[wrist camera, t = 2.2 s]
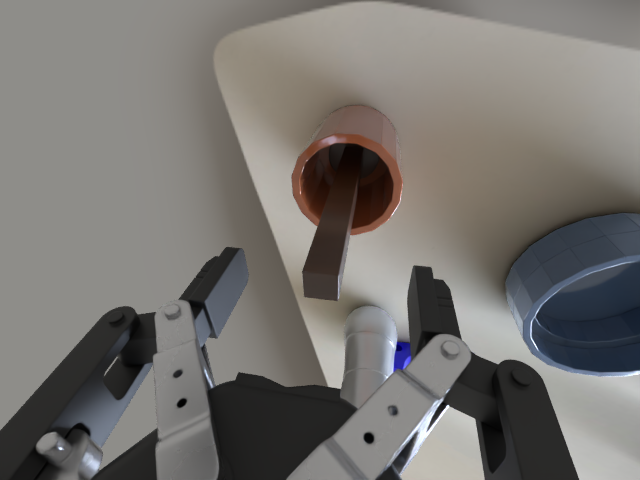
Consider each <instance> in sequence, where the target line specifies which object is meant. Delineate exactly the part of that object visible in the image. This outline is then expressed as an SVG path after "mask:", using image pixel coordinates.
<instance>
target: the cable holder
mask: <svg viewBox="0 0 640 480" xmlns="http://www.w3.org/2000/svg"><path fill="white" fill-rule="evenodd" d="M410 362H411V351H410V343H405V342H397V345H396V350H395V354H394V368H393V372H394V371H395V370H397V369H401V370H403V369H404V368H405V367H406V366H407V365H408V364H409V363H410Z"/></svg>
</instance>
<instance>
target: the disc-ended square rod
mask: <svg viewBox="0 0 640 480" xmlns="http://www.w3.org/2000/svg"><path fill="white" fill-rule="evenodd" d="M379 159H380V157H379V156H378V155H377V154H376V152H374V151H372V150H370V149H367V148H365V147H363V146H361V145H359V144H354V143H335V144H333V145H330V148H329V161H330V164H331V166H332V168H333V169H334V171H335V172H336V174H335V177H334V180H333V183H332V186H331V189H330V192H329V195H328V198H327V201H326V204H325V206H324V209H323V212H322V215H321V218H320V221H319V224H318V227H317V230H316V233H315V236H314V239H313V242H312V245H311V247H310V250H309V253H308V256H307V259H306V262H305V265H304V268H303V271H302V274H303V287H304V297H308V298H317V299H325V300H334V301H338V300H339V295H340V289H341V284H342V278H343V273H344V267H345V261H346V256H347V250H348V244H349V239H350V233H351V228H352V222H353V216H354V211H355V205H356V200H357V194H358V188H359V183H360V179H362V178H365V177H367V176H369V175H370V174H371V173H372V172H373V171H374V170H375V169H376V167H377V165H378V163H379Z"/></svg>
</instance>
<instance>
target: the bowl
mask: <svg viewBox="0 0 640 480" xmlns="http://www.w3.org/2000/svg"><path fill="white" fill-rule="evenodd" d="M505 285H506V300H507V302H508V304H509V307H510V309H511V312H512V314H513V316H514V319H515V321H516V324H517V326H518V328H519V331H520V333H521V335H522V338H523V340H524V342H525V343H526V345H527V347H528V348H529V350H530V352H531V353H532V354H533V355H535V356H536V357H537V358H539V359H540V360H542V361H543V362H545V363H546V364H547V365H550V366H553V367H556V368H559V369H562V370H565V371H567V372H571V373H578V374H585V375H592V376H629V375H636V374H640V214H636V213H617V214H611V215H605V216H599V217H592V218H586V219H584V220H581V221H578V222H576V223H573V224H570V225H567V226H565V227H562V228H559V229H557V230H555V231H553V232H552V233H550V234H548V235H547V236H545V237H544V238H542V239H540V240H539V241H537V242H536V243H534V244H532V245H531V246H530V247H529V248H528V249H527V250H526V251H525V252H524V253H523V254H522V255H521V256H520V257H519V258H518V259H517V260H516V261H515V262H514V264H513V266H512V268H511V270H510V272H509V275H508V277H507V279H506V282H505Z"/></svg>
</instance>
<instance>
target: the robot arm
mask: <svg viewBox="0 0 640 480" xmlns="http://www.w3.org/2000/svg"><path fill="white" fill-rule="evenodd" d="M247 281H248V269H247V264H246V259H245V254H244V251H243V249H242V248H232V247H226V248H225V249H224V250H223V252H222V253H221V255H220V256H219V257H218V256H215V257H214V258H212V259H211V260H209V261H208V262H206V264H205V265H204V266H203V268H202V269H201V271H200V272H199V273H198V274H197V276H196V278H194V280H193V281H192V282H191V283H190V285H189V286H188V287H187V289H186V290H185V291H184V293H183V294H182V295H181V297H180V298H179V299H178V300H174V301H170V302H168V303H166V304H164V305H163V306H161V307H160V308H159V309H158V311H157V312H153V313H146V314H139V315H137V313H136V312H135V310H134V309H133V308H131V307H128V306H123V307H118V308H115V309H113V310H111V311H109V312H107V313H106V314H105V315H103V316H102V317H101V318H100V320H99V321H98V322H97V323H96V324H95V325H94V326H93V327H92V329H91V330H90V331H89V332H88V333H87V334H86V335H85V337H84V338H83V339H82V340H81V341H80V342H79V343H78V344H77V345H76V347H75V348H74V349H73V350H72V351H71V352H70V353H69V354H68V356H67V357H66V358H65V359H64V360H63V361H62V362H61V363H60V364H59V366H58V367H57V368H56V369H55V370H54V371H53V373H51V375H50V376H49V377H48V378H47V379H46V380H45V381H44V382H43V383H42V385H41V386H40V387H39V388H38V389H37V390H36V391H35V392H34V394H33V395H32V396H31V397H30V398H29V399H28V400H27V401H26V403H25V404H24V405H23V406H22V407H21V408H20V409H19V410H18V412H17V413H16V414H15V415H14V416H13V417H12V418H11V420H9V422H8V423H7V424H6V425H5V426H4V427H3V428H2V429H1V431H0V480H402V479H401V477H400V476H401V474H402V473H403V472H404V470H405V469H406V467H407V466H408V465H409V463H410V462H411V461H412V459H413V458H414V456H415V455H416V453H417V452H418V450H419V448H420V446H421V445H422V443H423V441H424V440H425V438H426V437H427V435H428V434H429V433H430V431H431V430H432V429H433V427H434V426H435V425H436V423H437V422H438V420H439V419H440V418H441V416H442V415H443V414H444V412H445V411H446V410H447V408H448V407H449V406H450V407H452V408H454V409H456V410H458V411H460V412H463V413H465V414H467V415H469V416H471V417H473V418H475V420H476V426H477V432H478V439H479V445H480V451H481V458H482V464H483V471H484V477H485V480H579V478H578V475H577V472H576V470H575V467H574V464H573V461H572V458H571V456H570V453H569V450H568V447H567V445H566V442H565V439H564V436H563V434H562V431H561V428H560V425H559V422H558V420H557V417H556V414H555V411H554V409H553V406H552V403H551V400H550V398H549V395H548V392H547V389H546V387H545V384H544V381H543V379H542V378H541V376H540V375H539V374H538V373H537V372H536V371H535V370H534V369H533V368H531V367H530V366H528V365H527V364H525V363H523V362H520V361H517V360H504V361H502V362H501V363H500V364H499V365H498V364H496V363H493V362H491V361H488V360H486V359H483V358H481V357H479V356H477V355H475V354H474V353H473V352H471V351H470V349H469V347H468V346H467V345H466V343H465V342H463V341H462V339H461V335H460V331H459V326H458V322H457V318H456V313H455V309H454V304H453V300H452V296H451V291H450V288H449V287H448V286H447V284H446V283H445V282H444V281H443V280H439V279H433V273H432V268H431V267H426V266H415V265H414V266H413V269H412V274H411V279H410V284H409V289H408V298H407V305H408V320H409V336H410V351H411V362H410V363H409V364H408V365H407V366H406V367H405V368H404V369H403V370H401V369H397V370H395V371H394V372H393V373H392V374H391V375H390V376H389V377H388V378H387V379H386V380H385V381H384V383H383V384H382V385H381V386H380V387H379V388H378V389H377V390H376V391H375V392H374V393H373V394H372V395H371V396H370V397H369V398H368V399H367V400H366V401H365V402H364V403H363V404H362V406H361V407H360V408H359V409H358V408H357V407H355V406H354V405H353V404H352V403H350V402H348V401H347V400H345V399H343V398H341V389H337V388H331V387H325V386H318V385H307V386H296V387H284V386H282V385H280V384H278V383H276V382H274V381H272V380H270V379H267V378H265V377H263V376H258V375H252V374H245V373H240V372H239V373H238V375H237V377H236V380H235V381H229V382H225V383H222V384H219V385H217V386H215V382H214V379H213V375H212V370H211V367H210V362H209V358H208V353H207V349H206V346H205V342H206V340H207V338H208V337H210V338H218V336H219V334H220V333H221V331H222V329H223V327H224V325H225V324H226V322H227V320H228V318H229V316H230V314H231V312H232V311H233V309H234V307H235V305H236V303H237V301H238V299H239V298H240V296H241V294H242V292H243V290H244V288H245V286H246V284H247ZM116 357H118V359H117V360H116V361H115V363H114V364H113V365H112V367H111V368H110V369H109V371H108V372H107V373H106V375H105V376H104V374H105V371H106V370H107V369H108V367H109V366H110V365H111V363H112V362H113V361H114V359H115V358H116ZM152 365H153V368H154V383H155V399H156V414H157V429H155V430H154V431H152V432H151V433H150V434H148V435H147V436H146V437H144V438H143V439H142V440H140V441H139V442H138V443H136V444H135V445H134V446H132V447H131V448H130V449H128V450H127V451H126V452H124V453H123V454H121V455H120V456H119V457H117V458H116V459H115V460H113V461H112V462H111V463H109V464H108V465H107V466H105V467H104V468H103V469H101V470H100V471H99V466H100V464H101V461H102V456H103V455H102V454H103V452H102V449H101V448H102V446H103V445H104V443H105V441H106V440H107V438H108V437H109V435H110V433H111V432H112V430H113V429H114V427H115V425H116V424H117V422H118V420H119V419H120V417H121V416H122V414H123V412H124V411H125V409H126V408H127V406H128V404H129V403H130V401H131V399H132V398H133V396H134V395H135V393H136V391H137V390H138V388H139V386H140V385H141V383H142V382H143V380H144V378H145V376H146V375H147V374H148V372H149V370H150V369H151V367H152ZM103 377H104V378H103Z"/></svg>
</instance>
